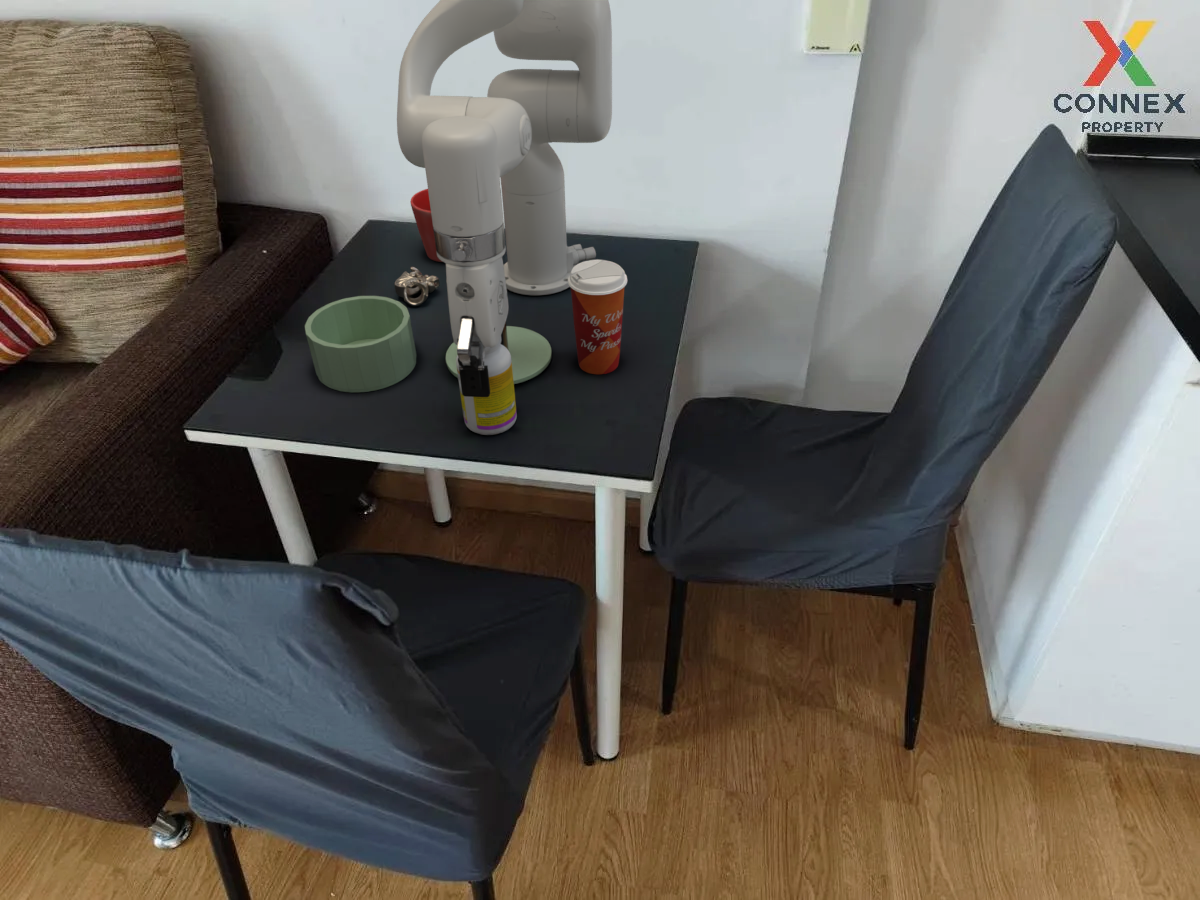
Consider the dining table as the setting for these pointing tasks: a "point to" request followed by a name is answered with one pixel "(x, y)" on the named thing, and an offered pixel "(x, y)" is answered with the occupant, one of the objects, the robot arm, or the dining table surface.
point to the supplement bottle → (492, 394)
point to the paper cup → (597, 313)
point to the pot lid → (517, 353)
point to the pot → (361, 343)
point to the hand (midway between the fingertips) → (484, 372)
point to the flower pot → (424, 222)
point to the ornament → (415, 286)
